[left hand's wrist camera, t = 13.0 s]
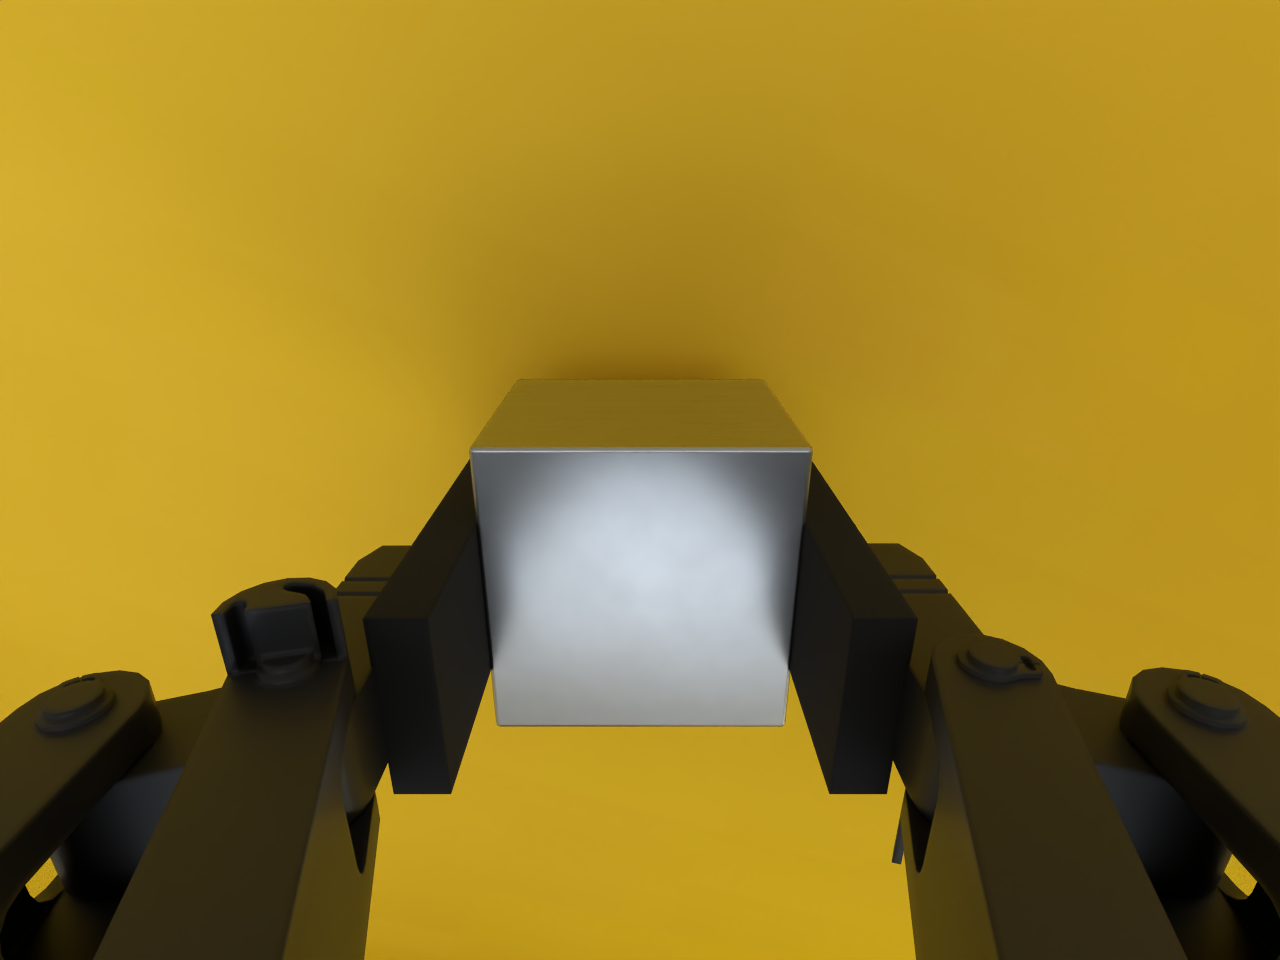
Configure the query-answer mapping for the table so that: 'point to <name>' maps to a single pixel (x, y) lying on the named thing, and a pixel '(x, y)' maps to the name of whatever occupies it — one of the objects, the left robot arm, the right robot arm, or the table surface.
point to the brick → (640, 551)
